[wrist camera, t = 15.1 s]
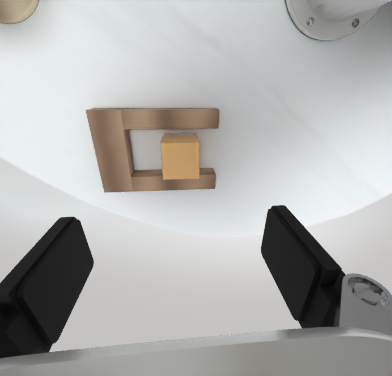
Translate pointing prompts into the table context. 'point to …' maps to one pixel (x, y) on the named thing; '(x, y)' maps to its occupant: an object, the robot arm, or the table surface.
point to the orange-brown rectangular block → (180, 156)
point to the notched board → (121, 148)
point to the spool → (16, 10)
